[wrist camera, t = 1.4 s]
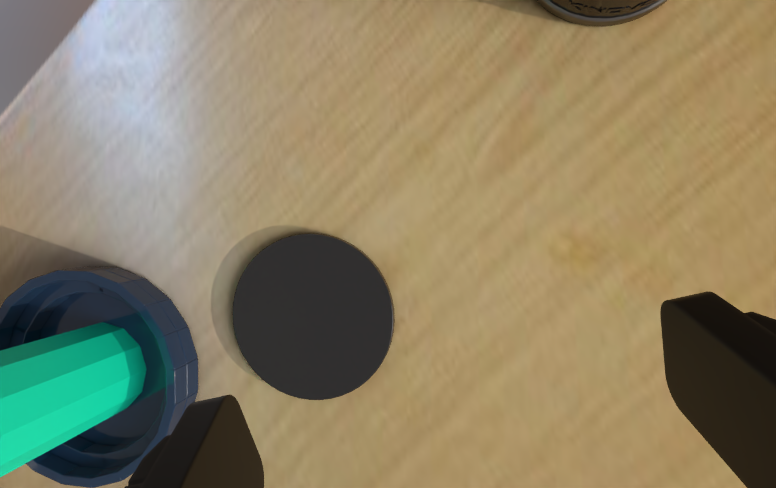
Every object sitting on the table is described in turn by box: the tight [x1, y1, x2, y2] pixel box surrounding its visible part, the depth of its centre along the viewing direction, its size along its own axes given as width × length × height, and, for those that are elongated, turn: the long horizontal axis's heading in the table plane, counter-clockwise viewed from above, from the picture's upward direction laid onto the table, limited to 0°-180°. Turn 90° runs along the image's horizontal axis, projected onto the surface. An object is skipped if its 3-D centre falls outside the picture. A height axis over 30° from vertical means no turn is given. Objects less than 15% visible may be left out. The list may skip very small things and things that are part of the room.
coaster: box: [233, 233, 395, 400], centre depth 31 cm, size 10×10×1 cm
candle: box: [0, 322, 147, 477], centre depth 27 cm, size 6×6×12 cm
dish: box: [0, 266, 198, 488], centre depth 32 cm, size 13×13×3 cm
